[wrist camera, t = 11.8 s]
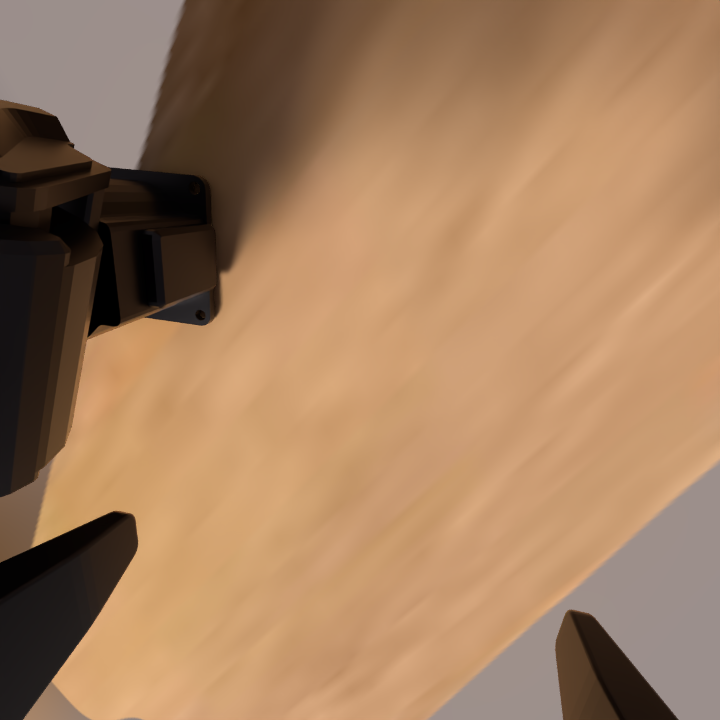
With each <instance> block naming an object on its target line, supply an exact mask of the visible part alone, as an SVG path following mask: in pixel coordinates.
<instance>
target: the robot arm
mask: <svg viewBox="0 0 720 720" xmlns="http://www.w3.org/2000/svg"><path fill="white" fill-rule="evenodd" d="M195 183H198V185H199V187H200V192H199V193H198V194H197V193H196V192H195V191H194V185H195ZM216 285H217V278H216V247H215V230H214V229H213V227H212V225H211V196H210V186H209V183H208V182H207V180H206V179H205V178H203V177H201V176H196V175H185V174H174V173H163V172H153V171H142V170H131V169H120V168H110V167H106V166H104V165H102V164H100V163H98V162H96V161H94V160H92V159H91V158H89V157H87V156H86V155H84V154H82V153H80V152H79V151H77V150H75V149H74V144H73V143H71V142H70V141H69V139H68V137H67V135H66V133H65V131H64V129H63V127H62V126H61V124H60V122H59V120H58V118H57V117H56V116H54V115H52V114H50V113H48V112H46V111H44V110H42V109H40V108H36V107H31V106H27V105H23V104H18V103H14V102H9V101H4V100H0V497H3V496H5V495H8V494H11V493H13V492H15V491H17V490H18V489H21V488H22V487H24V486H26V485H28V484H30V483H32V482H34V481H35V480H36V479H37V478H38V475H39V470H40V469H42V468H43V467H44V466H46V465H47V464H48V463H49V462H50V461H51V460H52V459H53V458H54V457H55V456H56V454H57V453H58V452H59V451H60V450H61V449H62V448H63V447H64V446H65V444H66V441H67V438H68V435H69V433H70V430H71V427H72V422H73V416H74V410H75V405H76V399H77V393H78V387H79V382H80V376H81V370H82V364H83V359H84V353H85V347H86V341H87V340H88V339H90V338H93V337H95V336H98V335H100V334H103V333H105V332H108V331H110V330H113V329H116V328H118V327H121V326H123V325H126V324H128V323H131V322H133V321H136V320H138V319H141V318H144V317H145V318H152V319H159V320H166V321H173V322H180V323H187V324H194V325H200V326H202V325H206V324H208V323H210V322H212V321H213V319H214V316H215V310H214V287H215V286H216ZM200 310H202V311H203V312H204V313H205V318H203V317H202V316H201V315H200ZM137 548H138V537H137V528H136V520H135V517H134V516H133V514H130V513H126V512H121V511H113V512H110V513H108V514H106V515H104V516H101V517H99V518H97V519H95V520H93V521H90V522H88V523H86V524H84V525H82V526H79V527H77V528H75V529H73V530H71V531H69V532H66V533H64V534H62V535H60V536H58V537H55V538H53V539H51V540H49V541H47V542H44V543H42V544H40V545H38V546H36V547H33V548H31V549H29V550H27V551H25V552H23V553H20V554H18V555H16V556H14V557H12V558H9V559H7V560H5V561H3V562H1V563H0V720H23V719H24V717H25V716H26V715H27V713H28V712H29V711H30V709H31V708H32V707H33V705H34V704H35V703H36V701H37V700H38V698H39V697H40V696H41V694H42V693H43V692H44V690H45V689H46V687H47V686H48V685H49V683H50V682H51V681H52V679H53V678H54V677H55V675H56V674H57V672H58V671H59V670H60V668H61V667H62V666H63V664H64V663H65V661H66V660H67V659H68V657H69V656H70V655H71V653H72V652H73V651H74V649H75V648H76V646H77V645H78V644H79V642H80V641H81V640H82V638H83V637H84V635H85V634H86V633H87V631H88V630H89V628H90V627H91V626H92V624H93V623H94V621H95V619H96V618H97V616H98V615H99V613H100V612H101V610H102V608H103V607H104V605H105V603H106V602H107V600H108V598H109V597H110V595H111V593H112V592H113V590H114V589H115V587H116V585H117V584H118V582H119V580H120V579H121V577H122V575H123V574H124V572H125V570H126V569H127V567H128V565H129V564H130V562H131V560H132V559H133V557H134V555H135V553H136V551H137ZM555 647H556V648H555V651H556V661H557V669H558V678H559V687H560V696H561V705H562V713H563V720H678V718H677V717H676V716H675V715H674V714H673V712H672V711H671V710H670V709H669V707H668V706H667V705H666V704H665V703H664V701H663V700H662V699H661V698H660V696H659V695H658V694H657V693H656V692H655V690H654V689H653V688H652V687H651V686H650V684H649V683H648V682H647V681H646V679H645V678H644V677H643V676H642V675H641V673H640V672H639V671H638V670H637V669H636V667H635V666H634V665H633V664H632V662H631V661H630V660H629V659H628V658H627V657H626V655H625V654H624V653H623V651H622V650H621V649H620V648H619V647H618V645H617V644H616V643H615V642H614V640H613V639H612V638H611V637H610V636H609V635H608V633H607V632H606V631H605V630H604V628H603V627H602V626H601V625H600V624H599V622H598V621H597V620H596V619H595V618H594V617H593V616H592V615H590V614H589V613H585V612H580V611H576V610H568V611H567V612H566V614H565V616H564V619H563V622H562V625H561V627H560V630H559V633H558V636H557V639H556V646H555Z"/></svg>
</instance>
